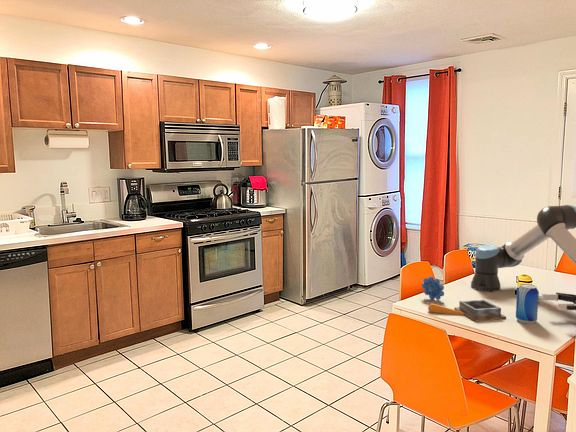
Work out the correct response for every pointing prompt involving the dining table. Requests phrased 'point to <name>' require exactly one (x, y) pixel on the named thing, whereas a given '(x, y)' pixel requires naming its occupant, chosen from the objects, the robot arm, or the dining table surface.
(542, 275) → the dining table surface
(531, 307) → the beer can
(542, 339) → the dining table surface
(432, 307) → the carrot
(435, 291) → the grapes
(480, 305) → the holder
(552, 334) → the dining table surface
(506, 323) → the dining table surface
